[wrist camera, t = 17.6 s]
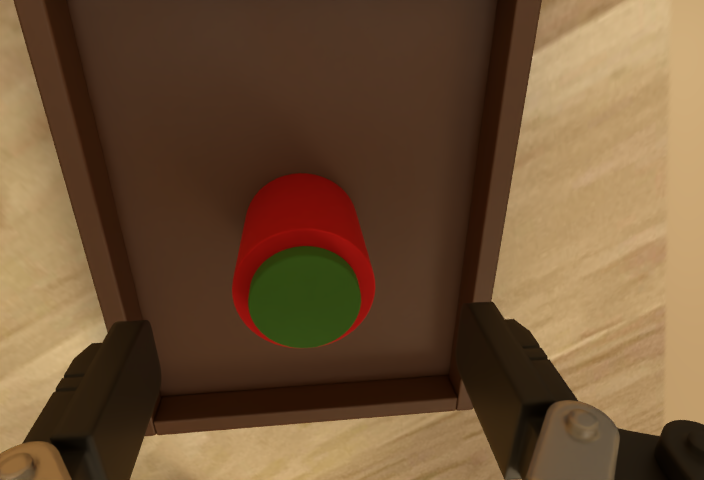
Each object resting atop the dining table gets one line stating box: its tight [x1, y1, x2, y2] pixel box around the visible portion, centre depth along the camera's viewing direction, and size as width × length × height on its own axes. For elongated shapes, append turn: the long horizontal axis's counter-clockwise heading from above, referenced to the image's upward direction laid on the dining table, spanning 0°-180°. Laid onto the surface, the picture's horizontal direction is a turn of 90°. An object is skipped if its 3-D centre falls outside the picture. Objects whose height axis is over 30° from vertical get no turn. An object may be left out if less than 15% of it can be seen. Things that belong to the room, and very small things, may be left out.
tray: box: [14, 0, 542, 436], centre depth 18 cm, size 15×18×2 cm
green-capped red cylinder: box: [232, 173, 375, 348], centre depth 16 cm, size 4×4×5 cm
